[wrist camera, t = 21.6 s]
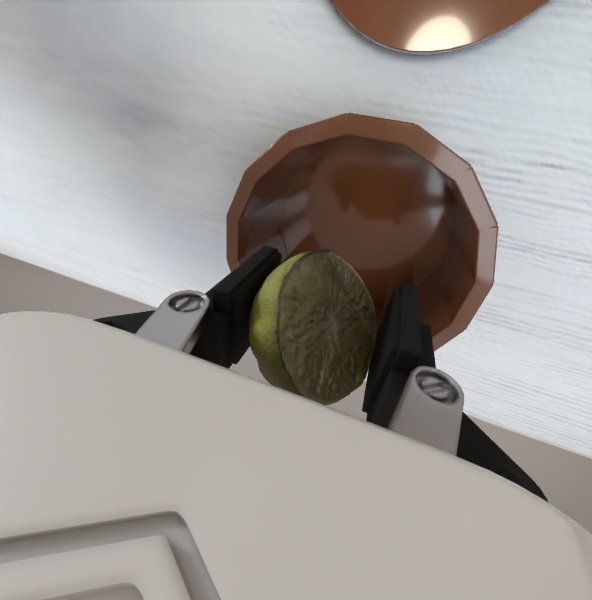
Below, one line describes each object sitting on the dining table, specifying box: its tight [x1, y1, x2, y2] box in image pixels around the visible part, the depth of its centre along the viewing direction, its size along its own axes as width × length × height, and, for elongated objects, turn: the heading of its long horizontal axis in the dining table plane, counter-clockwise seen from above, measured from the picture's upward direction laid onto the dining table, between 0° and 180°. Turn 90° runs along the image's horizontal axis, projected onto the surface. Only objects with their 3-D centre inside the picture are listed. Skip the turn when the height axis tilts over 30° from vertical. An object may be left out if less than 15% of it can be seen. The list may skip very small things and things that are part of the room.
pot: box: [227, 113, 498, 369], centre depth 17 cm, size 13×13×7 cm
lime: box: [249, 249, 377, 405], centre depth 10 cm, size 4×5×5 cm
